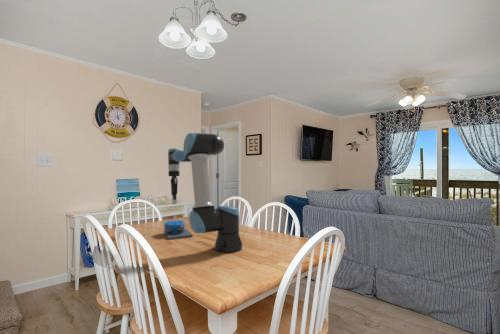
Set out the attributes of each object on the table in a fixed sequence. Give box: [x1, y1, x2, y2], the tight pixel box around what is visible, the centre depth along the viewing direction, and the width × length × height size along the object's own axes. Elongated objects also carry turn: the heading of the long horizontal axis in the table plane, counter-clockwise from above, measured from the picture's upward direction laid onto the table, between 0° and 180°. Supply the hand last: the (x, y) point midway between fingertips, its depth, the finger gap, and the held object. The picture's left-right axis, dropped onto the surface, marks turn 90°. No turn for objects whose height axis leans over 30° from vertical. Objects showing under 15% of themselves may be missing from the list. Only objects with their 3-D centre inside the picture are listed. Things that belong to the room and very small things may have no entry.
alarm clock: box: [163, 220, 186, 234], centre depth 183 cm, size 13×6×15 cm
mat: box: [163, 228, 193, 241], centre depth 180 cm, size 16×15×2 cm
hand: (174, 204), depth 194 cm, fingers closed
